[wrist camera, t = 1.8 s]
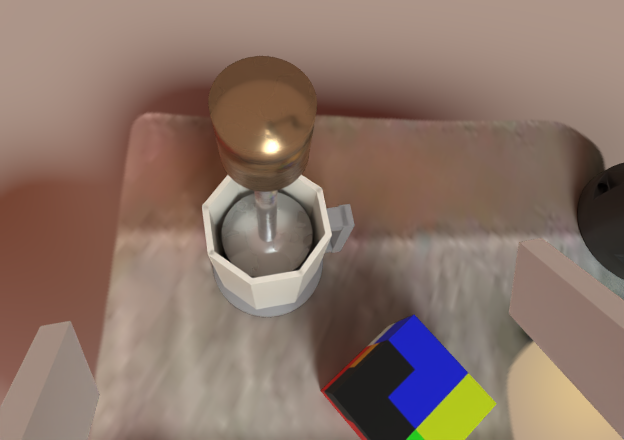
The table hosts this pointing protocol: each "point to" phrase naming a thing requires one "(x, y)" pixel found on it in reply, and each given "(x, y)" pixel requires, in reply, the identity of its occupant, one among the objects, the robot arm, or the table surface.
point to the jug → (285, 286)
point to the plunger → (264, 160)
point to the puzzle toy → (408, 389)
